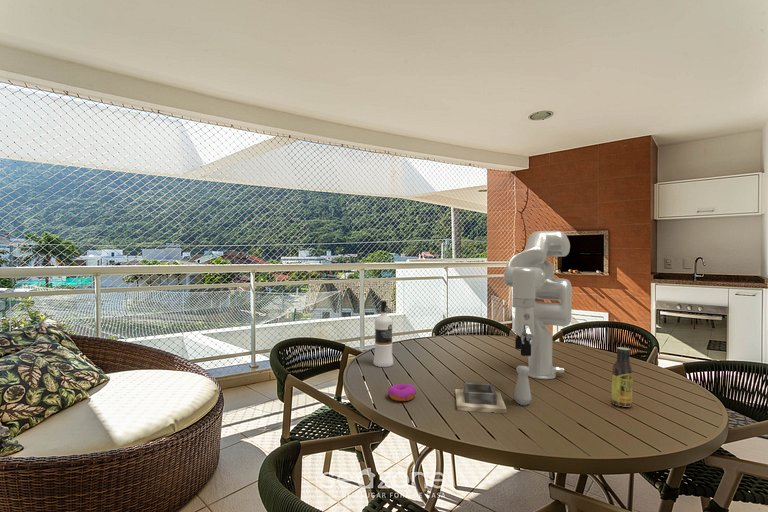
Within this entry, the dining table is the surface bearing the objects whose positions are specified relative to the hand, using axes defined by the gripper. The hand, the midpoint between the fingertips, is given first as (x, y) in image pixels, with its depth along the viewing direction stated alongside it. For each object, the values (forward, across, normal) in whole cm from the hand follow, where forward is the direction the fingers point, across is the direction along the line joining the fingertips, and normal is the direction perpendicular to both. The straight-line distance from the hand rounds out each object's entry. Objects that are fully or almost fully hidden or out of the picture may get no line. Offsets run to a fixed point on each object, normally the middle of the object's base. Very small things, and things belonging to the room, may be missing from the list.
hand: (522, 352), depth 135 cm
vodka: (+18, +38, +55) cm, 69 cm away
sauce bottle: (+18, +5, -34) cm, 39 cm away
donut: (+19, -1, +42) cm, 46 cm away
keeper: (+18, -1, +15) cm, 23 cm away
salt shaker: (+18, +1, 0) cm, 18 cm away
